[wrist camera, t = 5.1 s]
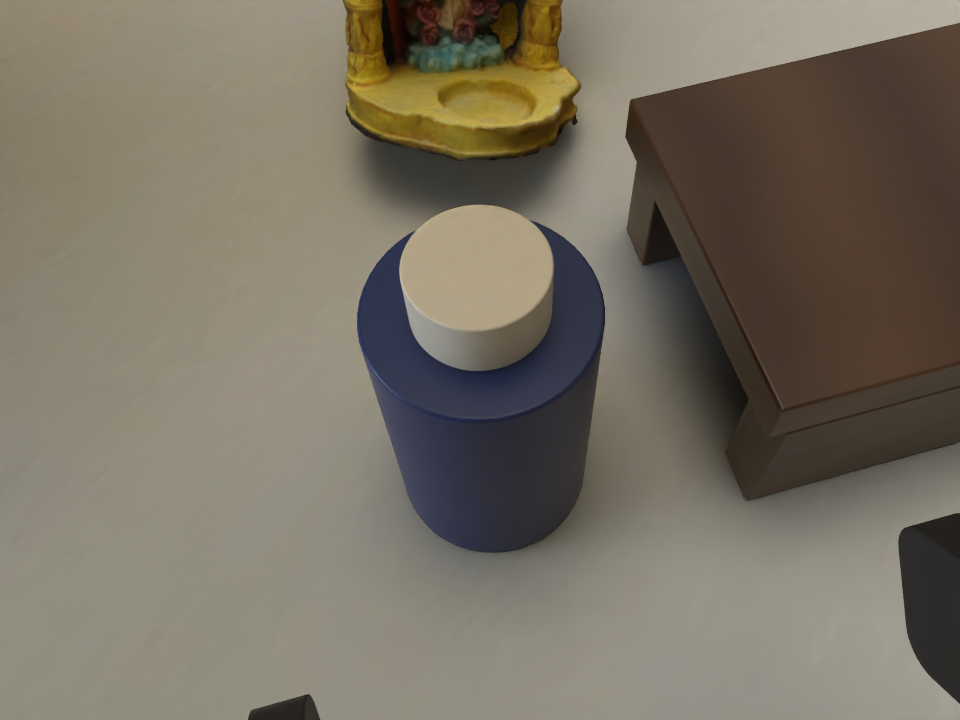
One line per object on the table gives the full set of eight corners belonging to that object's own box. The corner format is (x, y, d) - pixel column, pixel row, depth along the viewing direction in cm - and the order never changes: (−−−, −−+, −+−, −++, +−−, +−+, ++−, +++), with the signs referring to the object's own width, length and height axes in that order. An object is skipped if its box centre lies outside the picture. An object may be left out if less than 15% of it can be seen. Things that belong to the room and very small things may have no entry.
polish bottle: (427, 574, 25) (371, 414, 16) (387, 410, 27) (321, 194, 18) (608, 525, 25) (651, 342, 16) (553, 368, 28) (564, 137, 19)
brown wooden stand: (728, 506, 25) (781, 411, 20) (611, 232, 30) (628, 98, 25) (1116, 399, 26) (1262, 282, 21) (942, 151, 31) (1026, 6, 26)
